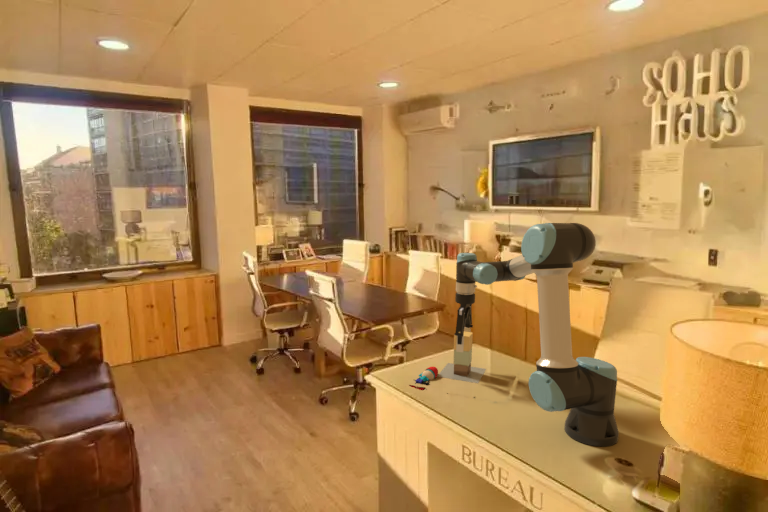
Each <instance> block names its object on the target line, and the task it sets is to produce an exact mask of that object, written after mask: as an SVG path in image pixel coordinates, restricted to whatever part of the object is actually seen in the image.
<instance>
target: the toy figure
mask: <svg viewBox="0 0 768 512" xmlns="http://www.w3.org/2000/svg"><path fill="white" fill-rule="evenodd" d="M438 375H439V369H438V368H437V367H436V366H429V367H427V368H426V369H424V371H423V372H421V373H420V374H418V378H416V379H414V382H415V383H414V384H415V385H411V384H408V387H412V388H415V389H417V390H419V391H423V390H425V389H426V387H424V386H429V385H430V381H432V380H435V379H436V378H437V376H438ZM416 384H422V385H424V386H418V385H416Z"/></svg>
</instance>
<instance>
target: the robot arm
mask: <svg viewBox="0 0 768 512" xmlns="http://www.w3.org/2000/svg"><path fill="white" fill-rule="evenodd" d="M596 244H597V240H596V236H595V234H594V232H593V231H592V229H591V228H589V227H588V226H586V225H584V224H582V223H578V222H568V223H567V222H545V223H537V224H534V225H532V226H530V227H529V228H528V229H527V230H526V232H525V233H524V234H523V238H522V240H521V244H520V245H521V247H520V250H521V254H520V255H518V256H515V257H513V258H511V259H508V260H502V261H500V260H499V261H479V260H478V256H477V254H476V253H473V252H460V253H458V254H457V256H456V270H455V271H456V275H455V276H456V278H455V279H456V280H455V300H454V301H455V303H457V304H459V307H458V308H457V311H456V312H457V318H456V326H455V333H454V334H455V335H456V336H457V341H456V352H462V353H463V352H464V336H463V335H464V331H465V332H472V331H471V329H472V328H474V327H473V326H474V325H473V316H472V315H473V313H472V306H473V305H474V304H475V302H476V288H477V287H478V285H477V284H476V283H478V284H481V285H489V286H490V285H492V284H493V283H494V282H495V283H497V282H498V283H499V282H512V281H513V282H517V281H521V280H524V279H525V278H526V277H527V276H528V275H531V274H535V276H536V283H537V304H538V319H539V320H538V321H539V340H540V341H539V342H540V358H539V359H538V360H536V370H535V371H533V372H532V373H531V374H530V376H529V378H528V388H529V393H530V395H531V397H532V399H533V401H535V404H536V405H537V406H538V407H539V408H540V409H542V410H544V411H545V412H550V413H554V412H564V411H566V410H569V412H568V414H567V416H566V418H565V422H564V432H565V433H566V434H567V435H568V437H570V438H571V439H573V440H574V441H577V442H579V443H582V444H585V445H589V446H593V447H610V446H613V445H615V444H617V443H618V441H619V436H620V435H619V429H618V425H617V421H616V417H615V407H616V406H615V405H616V395H617V386H618V370H617V368H616V367H615V365H614V364H612V363H610V362H608V361H606V360H601V359H598V358H595V357H590V356H578V357H576V359H575V358H574V357H573V347H572V346H573V344H572V342H573V341H572V327H571V324H572V323H571V308H570V307H571V306H570V305H571V304H570V293H569V292H570V291H569V289H570V287H569V274H570V273H571V272H572V270H573V269H574V263H576V262H582V261H585V260H586V259H588V258H590V256H592V254H593V253H594V251H595V249H596Z"/></svg>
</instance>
